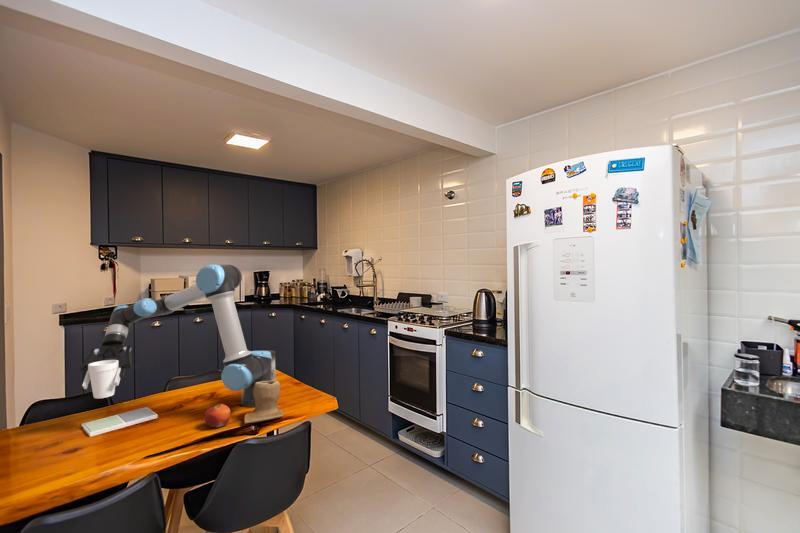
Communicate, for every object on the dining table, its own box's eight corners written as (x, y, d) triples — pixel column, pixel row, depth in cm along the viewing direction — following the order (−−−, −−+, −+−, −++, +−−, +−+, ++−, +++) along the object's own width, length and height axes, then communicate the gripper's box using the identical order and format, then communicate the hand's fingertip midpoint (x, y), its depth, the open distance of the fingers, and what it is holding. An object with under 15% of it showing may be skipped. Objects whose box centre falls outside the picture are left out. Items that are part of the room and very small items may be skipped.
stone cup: (280, 410, 161) (279, 375, 161) (285, 420, 150) (284, 382, 150) (242, 417, 154) (241, 380, 154) (244, 428, 143) (244, 389, 143)
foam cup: (123, 394, 148) (122, 361, 148) (95, 401, 140) (94, 367, 140) (112, 390, 153) (111, 358, 153) (84, 397, 145) (84, 364, 145)
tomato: (235, 423, 147) (235, 403, 147) (212, 432, 139) (212, 411, 139) (222, 418, 152) (222, 399, 152) (199, 427, 145) (199, 406, 145)
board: (157, 417, 155) (157, 414, 155) (90, 436, 138) (90, 432, 138) (146, 409, 164) (146, 406, 164) (81, 426, 147) (81, 423, 147)
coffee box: (258, 384, 196) (258, 354, 196) (254, 382, 201) (254, 352, 201) (275, 381, 202) (275, 351, 202) (271, 378, 207) (271, 349, 207)
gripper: (147, 340, 165) (136, 386, 150) (86, 344, 157) (68, 394, 143) (143, 330, 160) (132, 377, 145) (80, 334, 153) (61, 384, 138)
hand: (100, 385), depth 144 cm, fingers closed on foam cup, 9 cm apart
